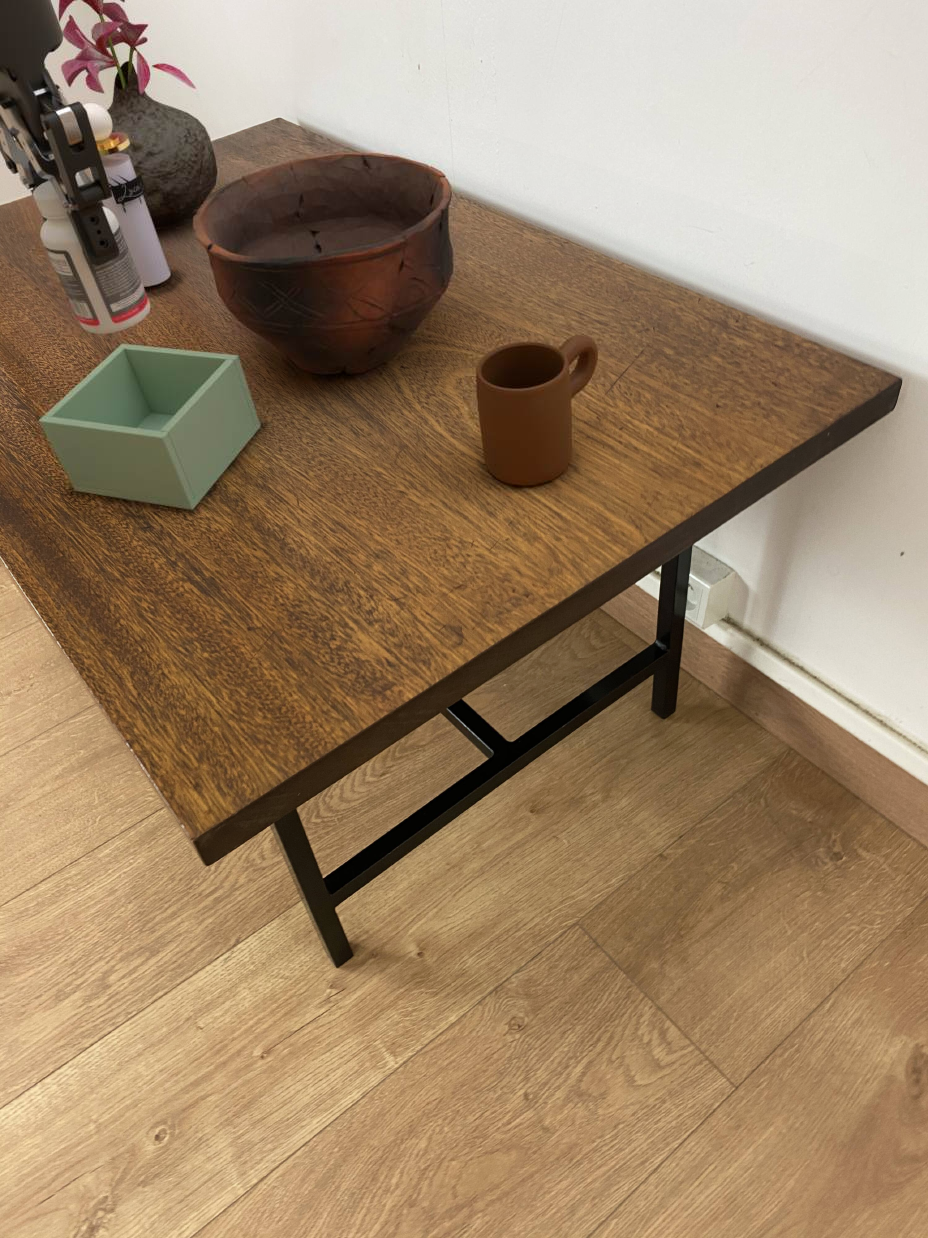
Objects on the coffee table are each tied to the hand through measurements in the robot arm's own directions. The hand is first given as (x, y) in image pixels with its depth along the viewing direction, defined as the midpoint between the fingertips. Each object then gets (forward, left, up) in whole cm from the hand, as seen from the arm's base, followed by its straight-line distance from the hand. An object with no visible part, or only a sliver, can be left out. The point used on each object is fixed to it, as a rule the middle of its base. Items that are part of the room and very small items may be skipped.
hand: (86, 247), depth 65 cm
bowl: (+26, -5, -22) cm, 34 cm away
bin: (+4, +4, -22) cm, 23 cm away
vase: (+53, +35, -22) cm, 67 cm away
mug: (+12, -30, -22) cm, 39 cm away
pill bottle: (0, 0, -6) cm, 6 cm away
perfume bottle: (+35, +26, -22) cm, 49 cm away
